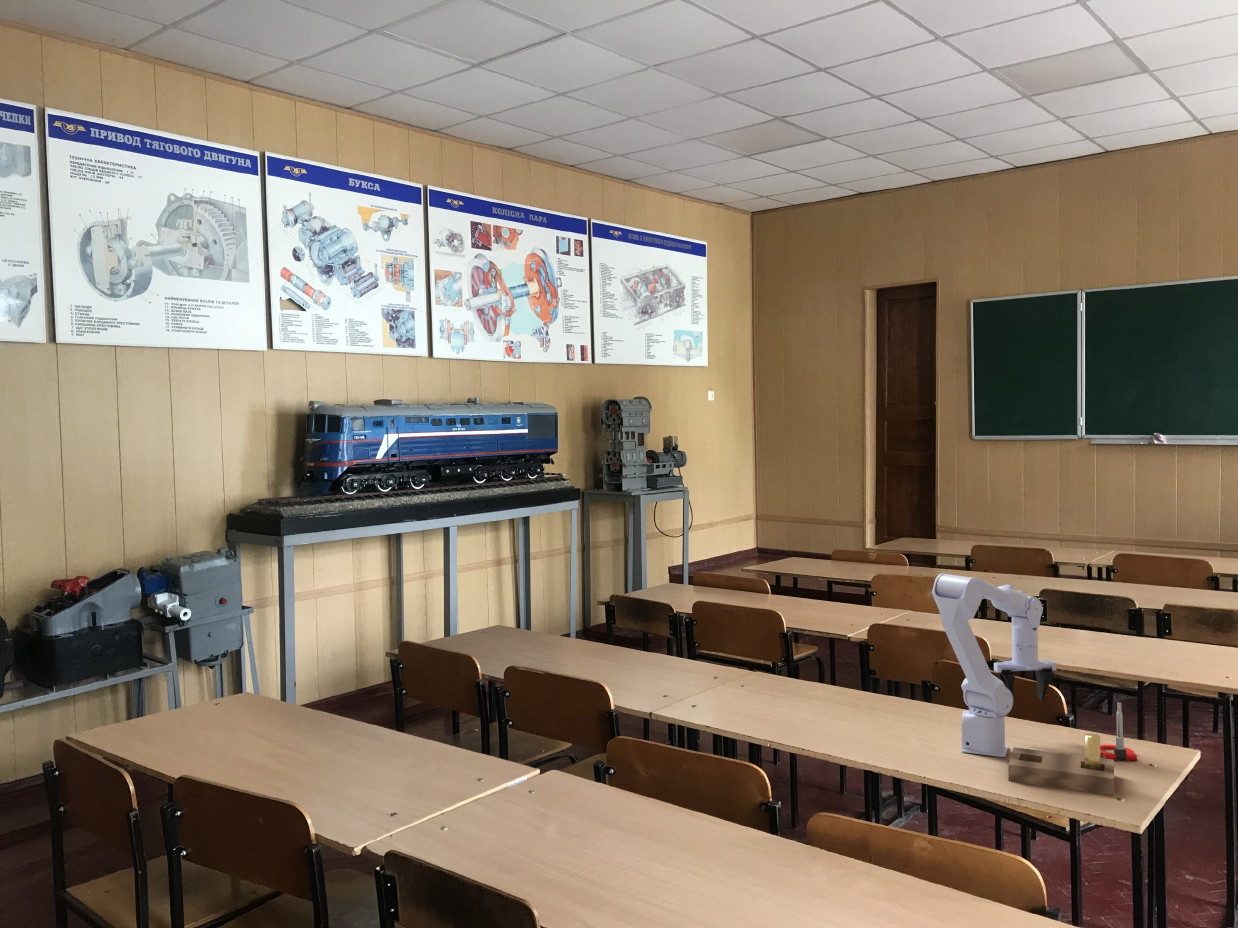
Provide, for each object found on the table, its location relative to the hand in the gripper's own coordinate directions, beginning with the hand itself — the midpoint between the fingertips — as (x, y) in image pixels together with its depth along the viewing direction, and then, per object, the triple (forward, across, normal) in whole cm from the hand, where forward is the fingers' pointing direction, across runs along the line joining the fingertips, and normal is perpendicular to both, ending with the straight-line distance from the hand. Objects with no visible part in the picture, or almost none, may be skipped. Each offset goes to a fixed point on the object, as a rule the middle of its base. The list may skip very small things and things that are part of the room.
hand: (1025, 700), depth 226 cm
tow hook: (+10, +15, -12) cm, 21 cm away
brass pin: (+9, +1, -28) cm, 30 cm away
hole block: (+9, -4, -26) cm, 28 cm away
